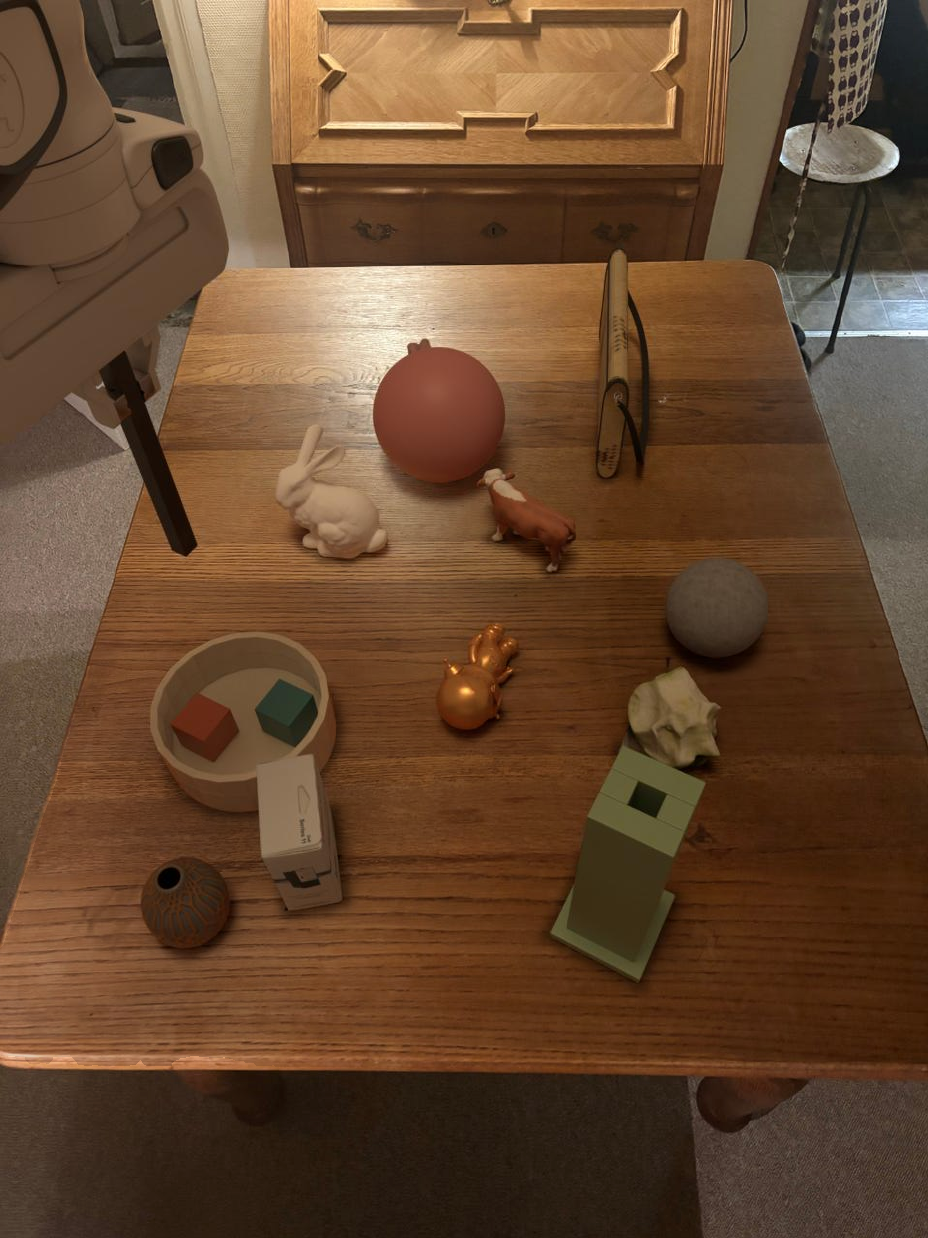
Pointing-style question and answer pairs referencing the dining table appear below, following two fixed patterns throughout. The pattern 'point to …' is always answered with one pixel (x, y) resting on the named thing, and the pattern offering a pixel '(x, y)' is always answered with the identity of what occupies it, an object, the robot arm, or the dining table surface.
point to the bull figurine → (528, 516)
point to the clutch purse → (618, 370)
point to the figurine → (476, 680)
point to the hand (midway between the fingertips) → (130, 406)
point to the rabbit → (328, 504)
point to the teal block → (287, 712)
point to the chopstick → (150, 456)
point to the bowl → (239, 714)
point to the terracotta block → (205, 727)
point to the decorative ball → (717, 607)
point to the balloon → (438, 413)
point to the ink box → (298, 832)
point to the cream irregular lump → (672, 721)
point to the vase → (185, 902)
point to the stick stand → (628, 863)
